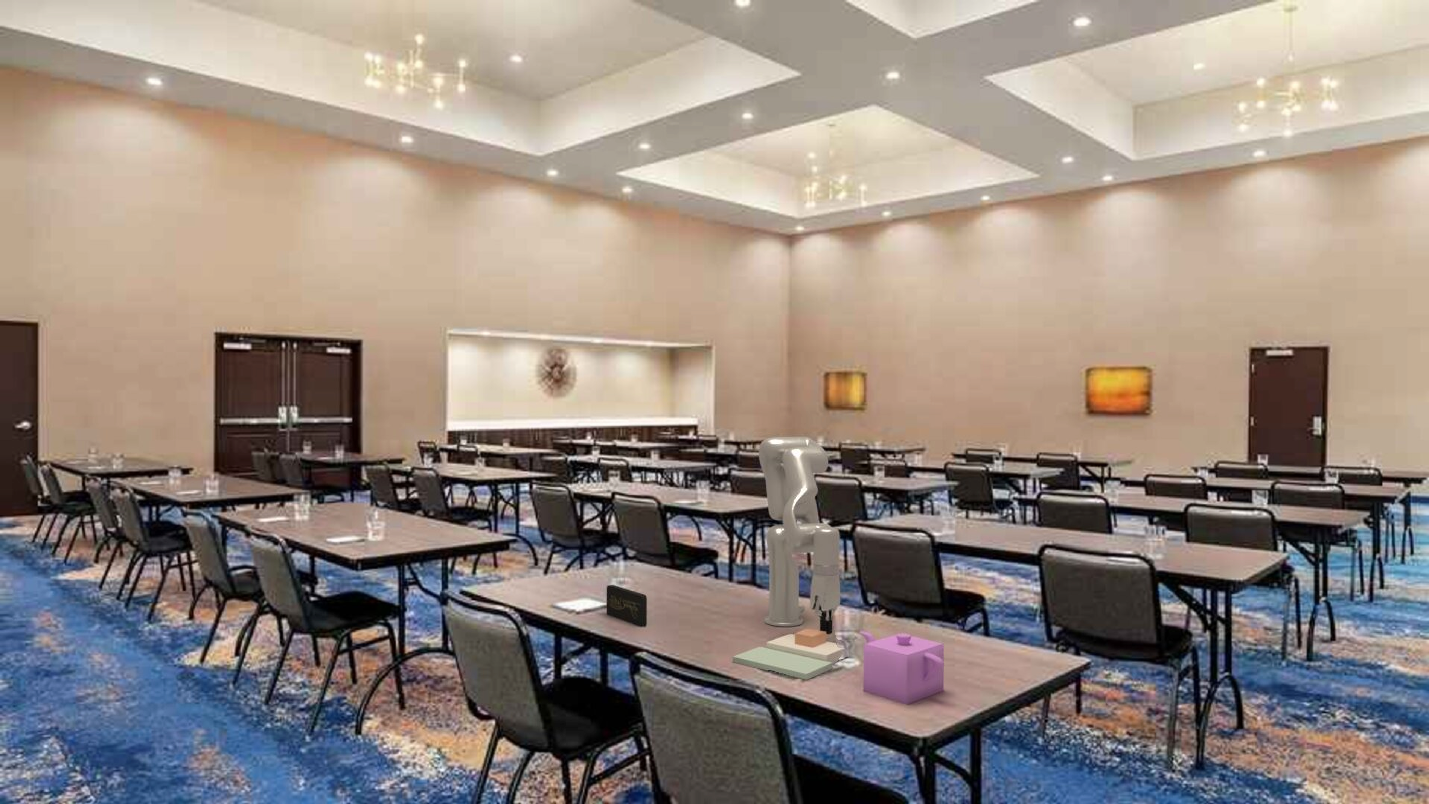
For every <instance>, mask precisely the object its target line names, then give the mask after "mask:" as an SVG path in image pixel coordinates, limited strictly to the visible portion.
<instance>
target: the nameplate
mask: <svg viewBox="0 0 1429 804" xmlns="http://www.w3.org/2000/svg"><path fill="white" fill-rule="evenodd" d="M647 605H648V597H647V595H646V594H644V593H641V592H637V591H634V590H631V589H628V588H624V587H621V586H617V585H615V584H610V585H607V586H606V614H607V615H606V616H609V617H613V618H615V619H617V620H620V621H623V622H626V623H629V624H632V625H635V626H636V627H639V628H642V627H646V626H647V624H648V622H647V621H648V618H647V617H648V614H647V613H648V608H647V607H648V606H647Z"/></svg>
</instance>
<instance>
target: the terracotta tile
mask: <svg viewBox="0 0 1429 804" xmlns="http://www.w3.org/2000/svg"><path fill="white" fill-rule="evenodd" d="M794 635H795V644H798V645H803V646H807V647H812V648H813V647H816V646H818V645H821V644H823V643H826V641H827V634H826V632H825V631H820V629H819V630H818V629H814V628H805V629H803V630H800V631H797V632H795V633H794Z"/></svg>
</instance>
